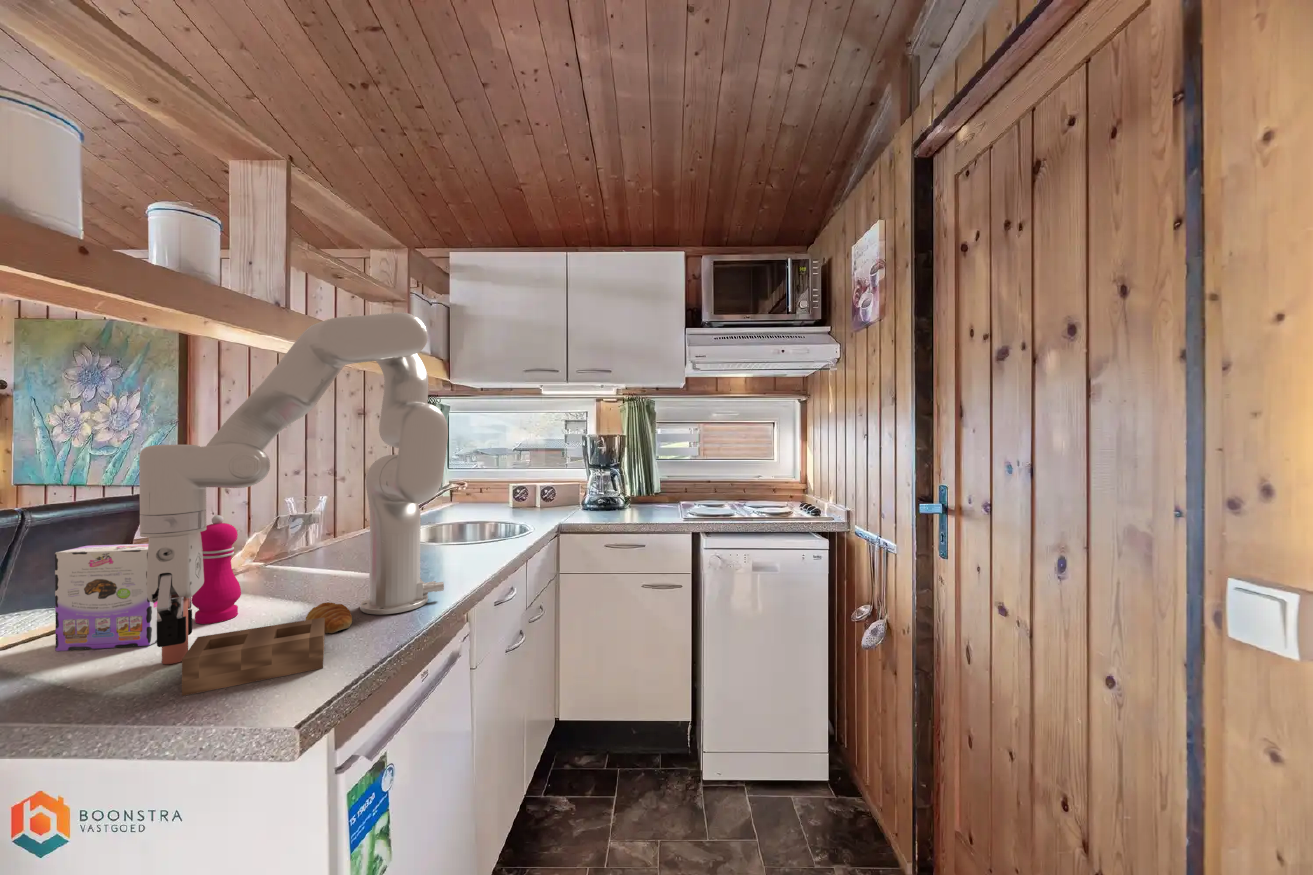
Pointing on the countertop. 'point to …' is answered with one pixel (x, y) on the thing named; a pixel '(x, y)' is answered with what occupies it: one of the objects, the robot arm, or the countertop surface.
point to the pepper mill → (217, 575)
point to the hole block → (253, 655)
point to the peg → (179, 650)
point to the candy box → (103, 598)
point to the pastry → (332, 616)
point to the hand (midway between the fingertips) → (175, 639)
